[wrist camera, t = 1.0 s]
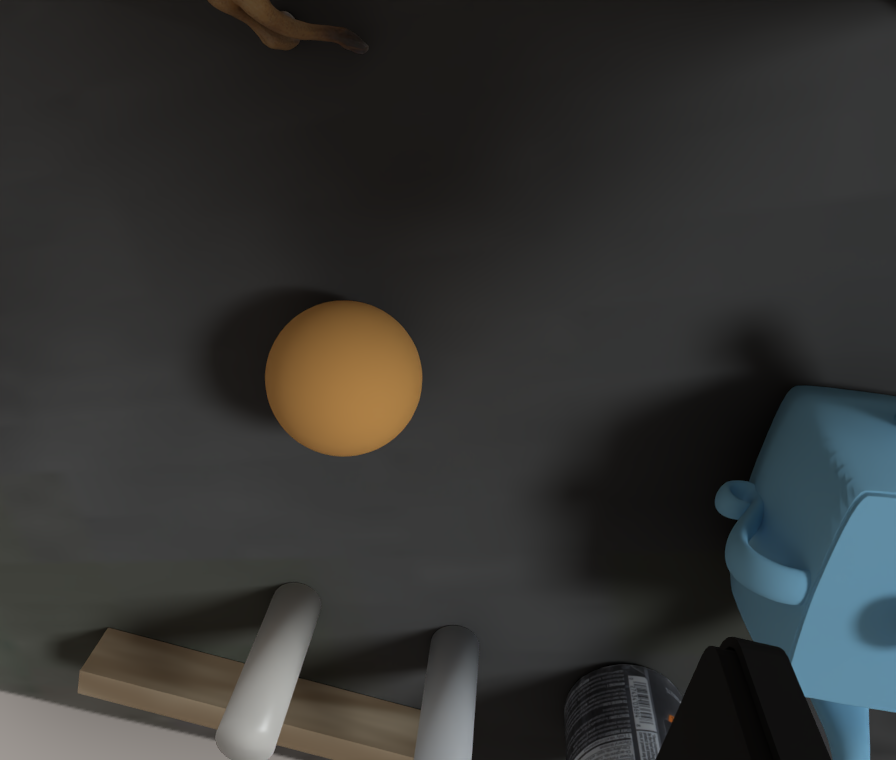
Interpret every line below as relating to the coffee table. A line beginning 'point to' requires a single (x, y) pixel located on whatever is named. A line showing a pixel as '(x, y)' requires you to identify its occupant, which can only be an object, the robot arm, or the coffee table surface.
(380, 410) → the ball
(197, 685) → the tan wooden bar
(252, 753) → the white pin
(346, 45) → the lion figurine
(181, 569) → the coffee table surface
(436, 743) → the grey pin
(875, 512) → the teapot
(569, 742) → the pill bottle
